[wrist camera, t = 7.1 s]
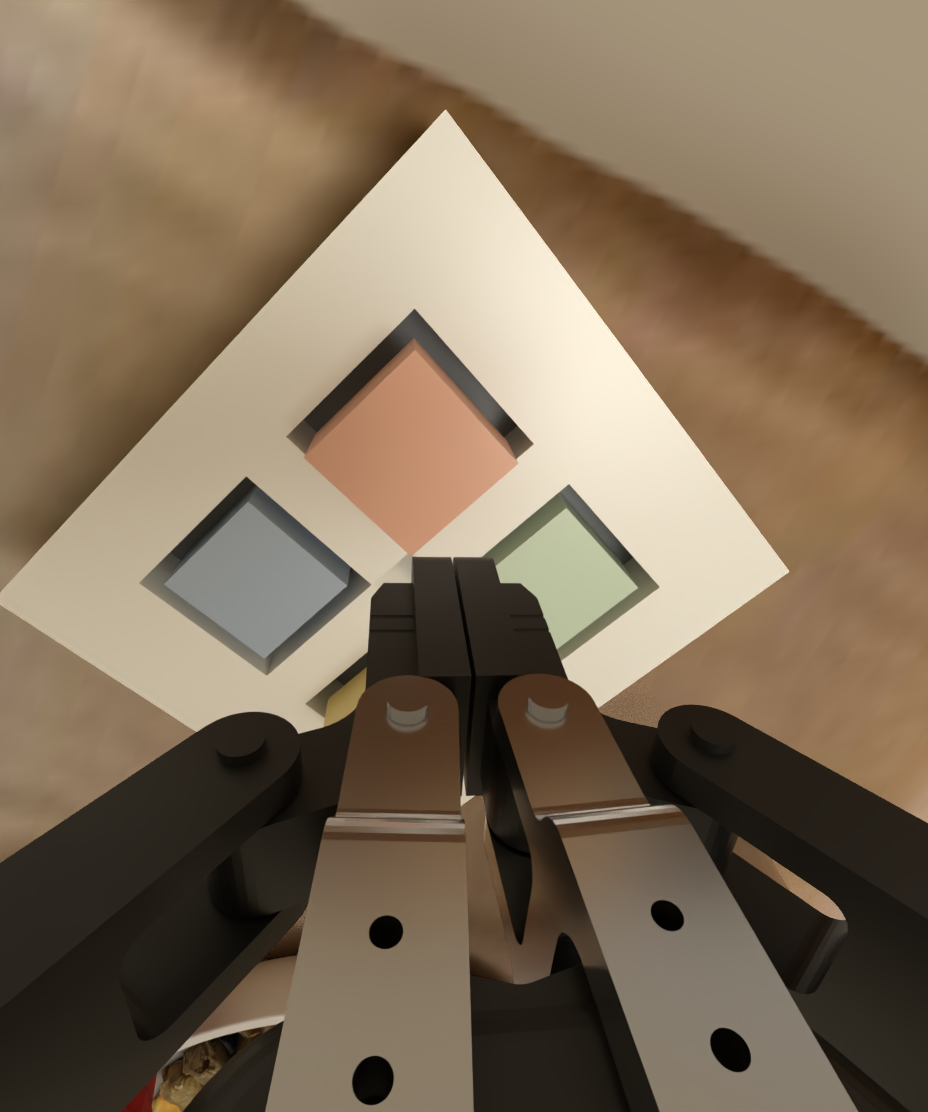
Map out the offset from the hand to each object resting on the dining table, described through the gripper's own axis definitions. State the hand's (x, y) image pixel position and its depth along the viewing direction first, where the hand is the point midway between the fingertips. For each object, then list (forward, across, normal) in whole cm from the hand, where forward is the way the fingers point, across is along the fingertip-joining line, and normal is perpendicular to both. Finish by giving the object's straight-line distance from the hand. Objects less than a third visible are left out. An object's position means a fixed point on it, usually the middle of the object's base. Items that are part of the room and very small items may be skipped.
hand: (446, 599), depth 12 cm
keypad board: (+14, 0, +5) cm, 15 cm away
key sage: (+12, -5, +5) cm, 14 cm away
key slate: (+12, +6, +5) cm, 14 cm away
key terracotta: (+10, 0, 0) cm, 10 cm away
